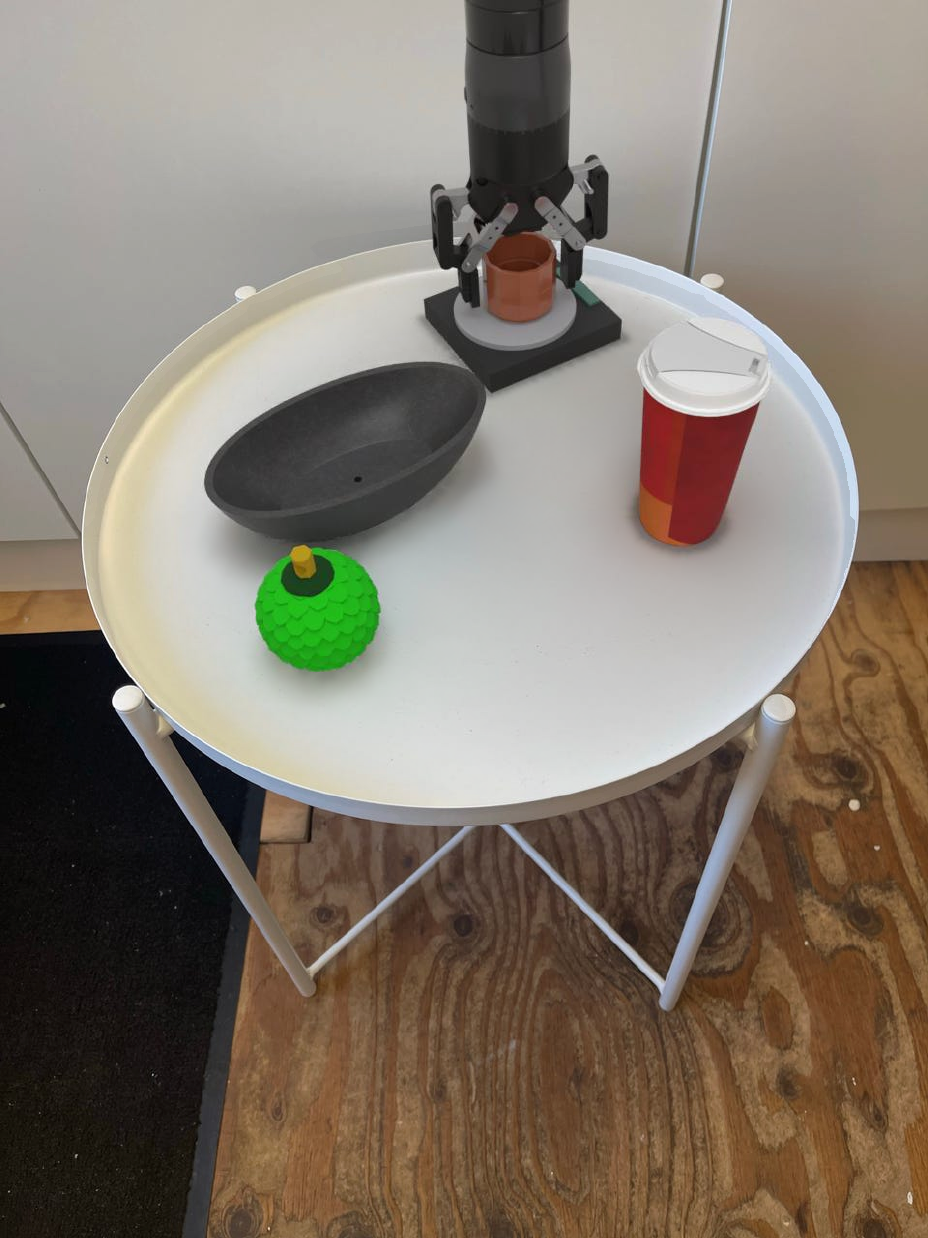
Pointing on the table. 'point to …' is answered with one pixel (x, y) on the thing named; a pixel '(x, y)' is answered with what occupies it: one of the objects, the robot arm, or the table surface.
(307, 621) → the ornament
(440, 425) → the bowl
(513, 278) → the small bowl
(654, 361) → the coffee cup
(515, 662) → the table surface
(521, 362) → the scale
